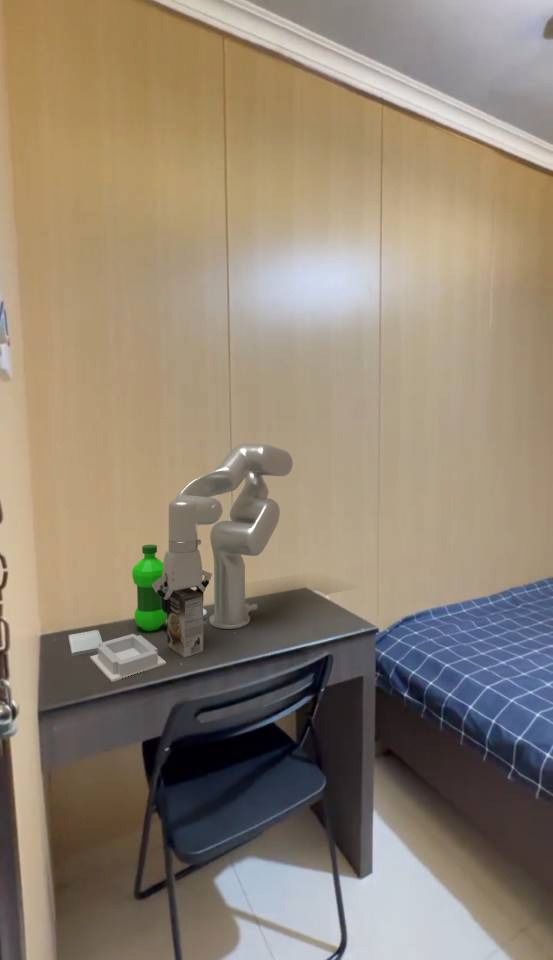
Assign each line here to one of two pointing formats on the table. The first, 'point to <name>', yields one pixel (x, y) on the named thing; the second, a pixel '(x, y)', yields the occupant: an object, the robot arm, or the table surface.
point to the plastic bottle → (148, 590)
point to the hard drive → (84, 642)
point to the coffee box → (185, 622)
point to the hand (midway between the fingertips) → (183, 608)
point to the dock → (126, 657)
